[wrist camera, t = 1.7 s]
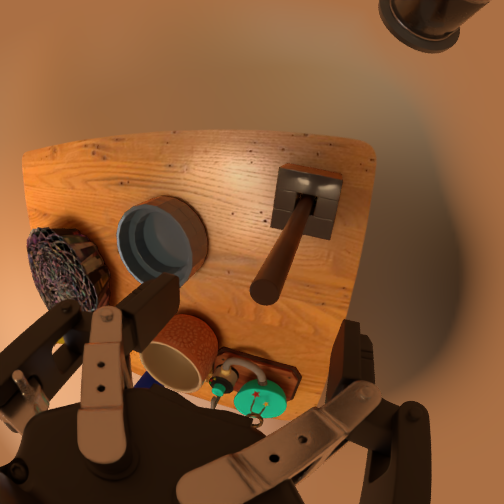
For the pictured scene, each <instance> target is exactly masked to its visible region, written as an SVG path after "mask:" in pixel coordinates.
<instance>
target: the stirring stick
mask: <svg viewBox="0 0 504 504" xmlns="http://www.w3.org/2000/svg"><path fill="white" fill-rule="evenodd" d="M315 197H316V196H313V195H308V194H303V196H302V197H301V199H300V201H299V203H298V204H297V206H296V208H295V210H294V211H293V213H292V215H291V217H290V218H289V220H288V222H287V224H286V225H285V227H284V229H283V231H282V232H281V234H280V236H279V238H278V239H277V241H276V243H275V245H274V246H273V248H272V250H271V251H270V253H269V255H268V257H267V258H266V260H265V262H264V264H263V265H262V267H261V269H260V270H259V272H258V274H257V276H256V277H255V279H254V281H253V282H252V284H251V286H250V295H251V297H252V299H253V300H254V301H255V302H257V303H258V304H261V305H266V306H267V305H272V304H274V303H275V302H277V300H278V299H279V296H280V294H281V291H282V288H283V286H284V283H285V280H286V278H287V275H288V272H289V270H290V267H291V264H292V262H293V259H294V256H295V253H296V251H297V248H298V245H299V242H300V240H301V237H302V234H303V231H304V228H305V225H306V223H307V220H308V217H309V214H310V211H311V208H312V205H313V202H314V199H315Z"/></svg>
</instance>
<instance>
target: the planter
mask: <svg viewBox="0 0 504 504" xmlns="http://www.w3.org/2000/svg"><path fill="white" fill-rule="evenodd" d="M217 354H218V341H217V338H216V335H215V334H214V332H213V330H212V329H211V328H210V327H209V326H208V325H207V324H206V323H205V322H204V321H202V320H201V319H199V318H197V317H194V316H191V315H186V314H179V315H175V316H173V318H172V319H171V320H170V321H169V322H168V323H167V324H166V326H165V327H164V328H163V329H162V330H161V331H160V332H159V334H158V335H157V336H156V337H155V338H154V339H153V340H152V342H151V343H150V344H149V345H148V346H147V347H146V349H145V350H144V351H143V352H142V353H140V359H141V362H142V364H143V366H144V367H145V369H146V370H147V371H148V373H149V374H150V375H151V376H152V377H153V378H154V379H155V380H157V381H158V382H159V383H161V384H162V385H164V386H165V387H167V388H170V389H172V390H174V391H177V392H182V393H192V392H195V391H197V390H199V389H200V387H201V386H202V385H203V383H204V381H205V379H206V377H207V376H208V374H209V371H210V369H211V367H212V365H213V363H214V362H215V359H216V357H217Z"/></svg>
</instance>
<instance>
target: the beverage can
mask: <svg viewBox="0 0 504 504" xmlns="http://www.w3.org/2000/svg"><path fill="white" fill-rule="evenodd" d="M153 383H156V384H158V385H161V386H163V387H164V385H162V384H161V383H159V382H158V381H157V380H155V379H154V378H153V377H152V376H151V375H150V374H149V373H148V371H146V372H145V373H144V374H143V376H142V377H141V378H140V380H139V381H138V382H137V383H136V385H135V386H134V387H133V388H149V389H150V387H151V386H152V385H153Z"/></svg>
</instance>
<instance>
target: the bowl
mask: <svg viewBox="0 0 504 504" xmlns="http://www.w3.org/2000/svg"><path fill="white" fill-rule="evenodd" d="M117 247H118V250H119V253H120V256H121V259H122V261H123V263H124V265H125V266H126V268H127V270H128V271H129V272H130V273H131V275H132V276H133V277H134V278H135V279H136V280H137V281H138V282H140V283H141V284H142V283H144V282H146V281H148V280H151V279H156V278H157V277H158V276H159V275H161V274H162V273H163V272H165V273H169V274H172V275H176V276H178V277H179V288H180V287H181V286H182V285H183V284H184V283H185V282H186V281H187V280H188V279H189V278H190V277H191V276H192V275H193V274H194V273H195V272H196V271H197V270H198V269H199V268H200V267H201V266H202V265H203V262H204V260H205V257H206V255H207V237H206V233H205V229H204V226H203V224H202V223H201V221H200V219H199V217H198V215H197V214H196V213H195V212H194V211H193V210H192V209H191V208H190V207H189V206H188V205H187V204H185V203H183V202H182V201H180V200H178V199H176V198H172V197H166V196H161V197H156V198H152V199H150V200H147V201H145V202H142V203H140V204H138V205H135V206H133V207H132V208H130V209H129V210H128V211H126V212H125V213H124V215H123V216H122V218H121V220H120V222H119V224H118V229H117Z"/></svg>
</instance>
